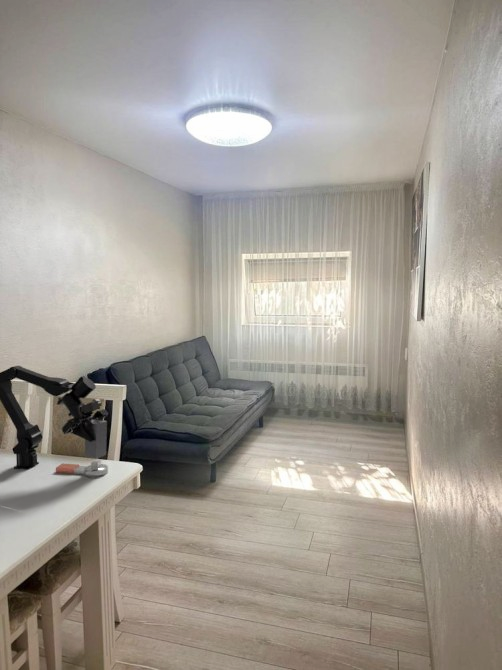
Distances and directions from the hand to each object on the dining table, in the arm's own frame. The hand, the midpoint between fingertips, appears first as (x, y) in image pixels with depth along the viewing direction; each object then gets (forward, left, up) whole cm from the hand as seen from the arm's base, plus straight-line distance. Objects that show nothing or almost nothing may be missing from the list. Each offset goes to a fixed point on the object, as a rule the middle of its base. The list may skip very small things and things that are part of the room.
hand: (98, 438), depth 162 cm
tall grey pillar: (-1, 0, -7) cm, 7 cm away
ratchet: (-7, +1, -13) cm, 15 cm away
